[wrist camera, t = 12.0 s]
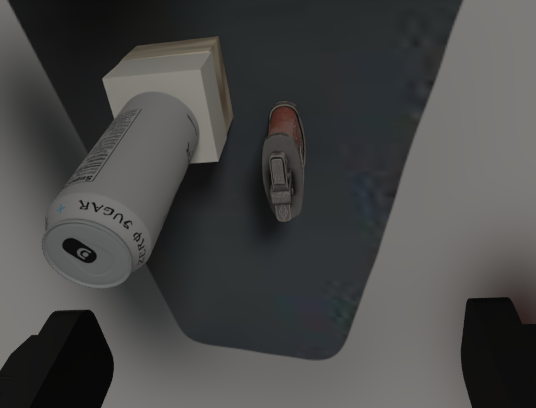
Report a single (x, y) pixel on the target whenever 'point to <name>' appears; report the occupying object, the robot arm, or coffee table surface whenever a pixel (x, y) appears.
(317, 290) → the coffee table surface
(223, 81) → the birch block
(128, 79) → the cream block
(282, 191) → the lighter
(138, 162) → the energy drink can
